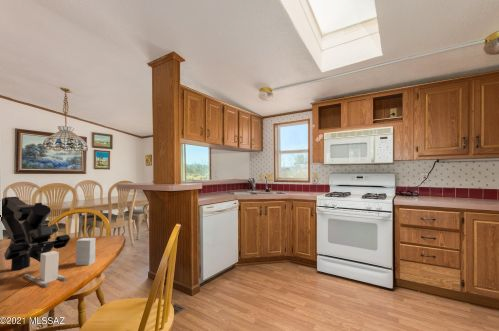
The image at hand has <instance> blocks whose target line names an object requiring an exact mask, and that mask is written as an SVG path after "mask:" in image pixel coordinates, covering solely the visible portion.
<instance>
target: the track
mask: <svg viewBox="0 0 499 331" xmlns="http://www.w3.org/2000/svg"><path fill="white" fill-rule="evenodd" d="M24 278H25V279H27V280H29V281H32V282H33V283H36V284H37V285H40V286H41V287H44V288H45V289H46V288H48V287H49V282H48V283H46V282H44V281H41V280H39V279H40V278H37V277H35V276H33V275H30V274H29V273H26V274H24ZM57 280H61V281H63V282H67V281H68V277H65V276H63V275H61V274H59V273H58V279H57Z"/></svg>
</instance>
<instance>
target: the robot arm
mask: <svg viewBox="0 0 499 331" xmlns="http://www.w3.org/2000/svg"><path fill="white" fill-rule="evenodd" d="M1 200H2V217H1V215H0V217H1V221H0V222H1V224H2V225H3V227H4V229H5V230H6V233H7V235H8V237H9V238H10V243H9V245H8V247H7V248H6V250H5V252H4V255H3V256H4V260H5V261H10V260H11V263H10V264H11V265H10V269H11V272H16V271H17V272H18V271H21V270H24V269H28V268H30V267H31V258H32V259H34V260H36V261H37V262H39V263H40V258H41V254H42V253H46V252H50V251H52V250H53V248H54V249H55V250H56V249H57V250H58V249H61V248H65V247H66V246H67V245H68V243H69V242H70V240H71V237H70V235H69V234H62V235H57V236H56V238H55V239H52V240H50V239H51V236H53V235H54V234H55V233H58V232H59V227H58V225H57V224H56V223H55V224H50V225H48V226H44V225H43V223H45V222H46V221H47V218H48V217H49V215H50V213H51V208H50V207H49V206H48V205H45V204H43V203H42V202H36V203H34V204H27V203H26V202H25V201H23V200H21V199H20V198H19V196H6V197H2V199H1ZM21 222H22V224H21Z"/></svg>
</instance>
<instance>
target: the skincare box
mask: <svg viewBox="0 0 499 331" xmlns="http://www.w3.org/2000/svg"><path fill="white" fill-rule="evenodd" d="M96 241H97V240H96V237H82V238H79V239H77V240H76V247H75V248H76V250H75V251H76V252H75V253H76V254H75V255H76V256H75V266H90V265H92V264H94V263H95V262H96Z"/></svg>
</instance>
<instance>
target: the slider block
mask: <svg viewBox="0 0 499 331" xmlns="http://www.w3.org/2000/svg"><path fill="white" fill-rule="evenodd" d="M59 255H60V252H59V251H56V250H51V251H50V252H46V253H42V254H41V258H40V262H39V278H38V279H39V280H41V281H44V282H46V283H48V284H49V283H50V282H53V281H56V280H59V279H58V274H59V257H60V256H59Z"/></svg>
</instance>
